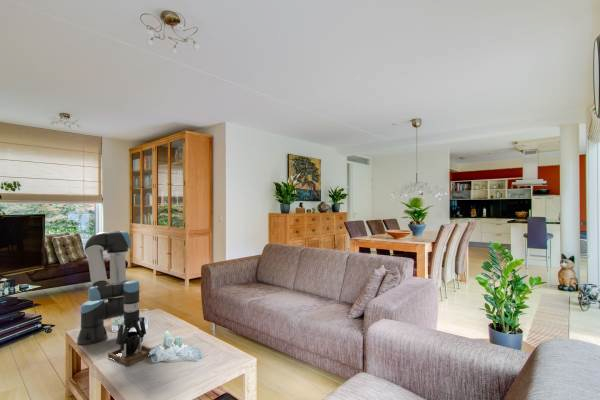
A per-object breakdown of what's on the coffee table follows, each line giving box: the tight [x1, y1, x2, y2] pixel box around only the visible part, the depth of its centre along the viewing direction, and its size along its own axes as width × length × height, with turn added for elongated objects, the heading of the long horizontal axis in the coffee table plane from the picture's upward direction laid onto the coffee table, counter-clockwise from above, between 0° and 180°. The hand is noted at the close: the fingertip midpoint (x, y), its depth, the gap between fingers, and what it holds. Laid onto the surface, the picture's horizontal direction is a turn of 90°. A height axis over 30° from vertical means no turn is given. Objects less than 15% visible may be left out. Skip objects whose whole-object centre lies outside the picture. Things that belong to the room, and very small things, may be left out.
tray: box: [107, 344, 153, 367], centre depth 169 cm, size 18×15×2 cm
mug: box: [125, 330, 140, 354], centre depth 169 cm, size 8×12×10 cm
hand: (131, 352), depth 169 cm, fingers closed on mug, 8 cm apart
